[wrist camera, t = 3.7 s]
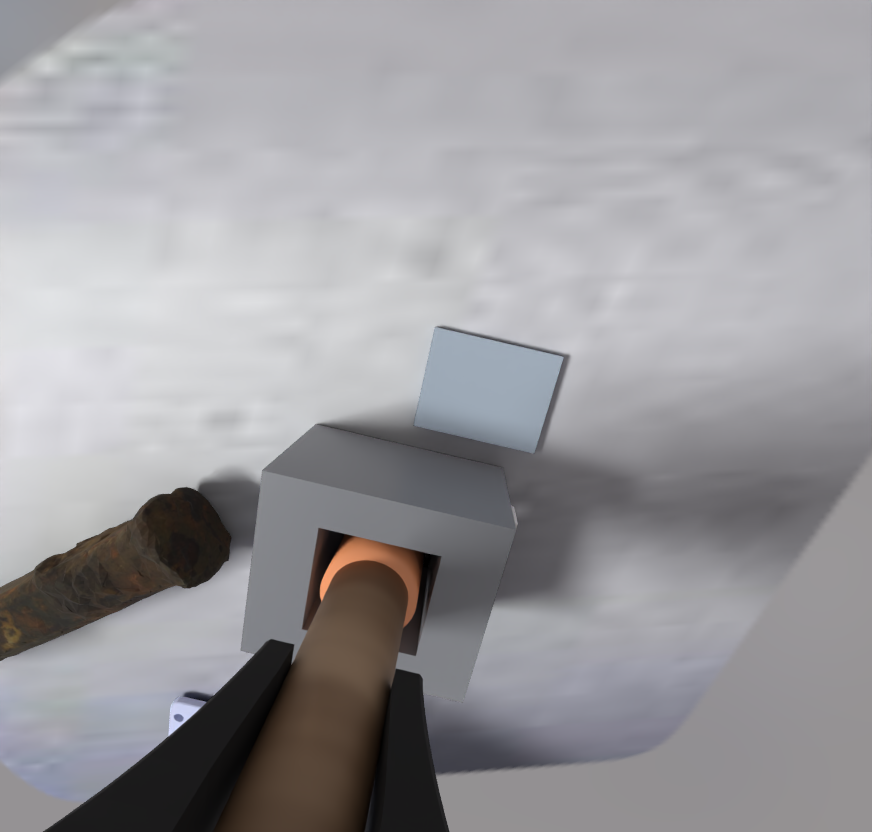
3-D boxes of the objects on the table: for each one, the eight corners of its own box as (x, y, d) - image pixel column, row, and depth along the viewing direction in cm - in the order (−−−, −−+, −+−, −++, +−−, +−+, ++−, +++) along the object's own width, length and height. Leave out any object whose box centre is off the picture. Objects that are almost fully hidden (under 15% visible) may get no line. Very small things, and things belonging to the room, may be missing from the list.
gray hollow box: (466, 606, 20) (466, 704, 15) (294, 565, 20) (240, 650, 15) (506, 468, 18) (521, 531, 13) (315, 424, 18) (262, 470, 13)
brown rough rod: (201, 469, 19) (121, 521, 15) (246, 544, 20) (184, 613, 16) (-98, 601, 23) (-237, 676, 18) (-48, 660, 24) (-169, 745, 19)
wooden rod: (399, 636, 15) (303, 1134, 6) (323, 618, 15) (116, 1091, 6) (415, 570, 14) (331, 1028, 5) (335, 552, 14) (119, 979, 5)
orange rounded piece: (414, 599, 17) (406, 647, 15) (334, 580, 17) (313, 625, 15) (432, 527, 16) (426, 566, 14) (347, 508, 16) (327, 543, 14)
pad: (533, 451, 18) (534, 453, 18) (414, 423, 18) (413, 425, 18) (562, 355, 17) (563, 357, 17) (435, 326, 17) (434, 327, 17)
